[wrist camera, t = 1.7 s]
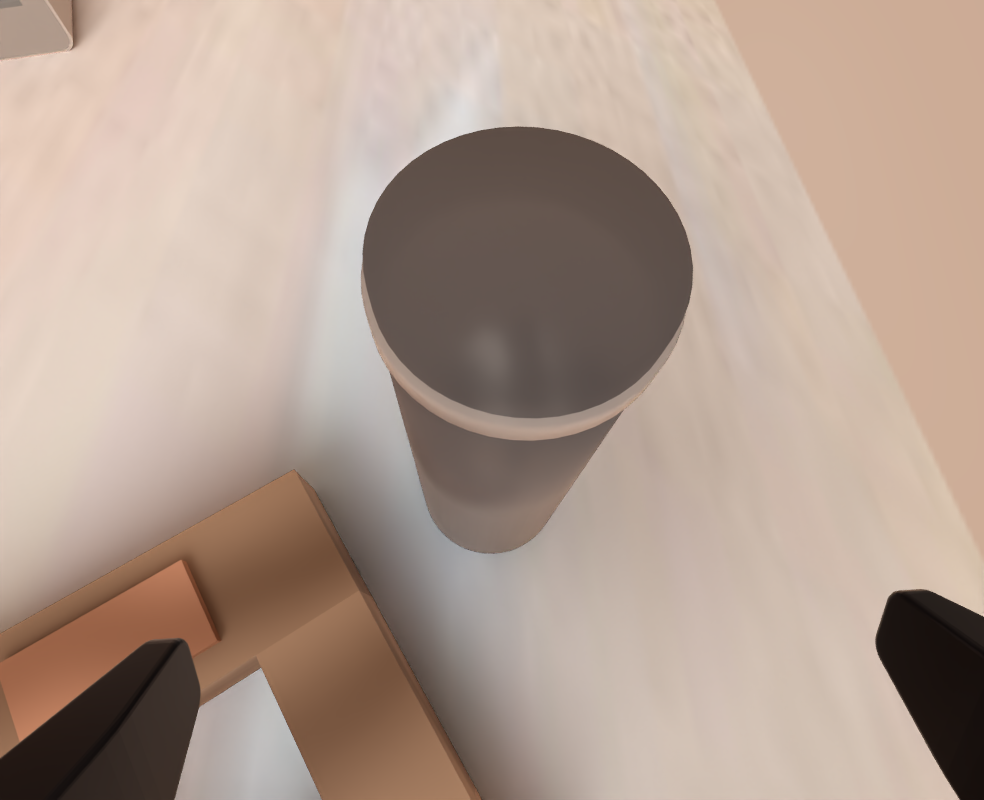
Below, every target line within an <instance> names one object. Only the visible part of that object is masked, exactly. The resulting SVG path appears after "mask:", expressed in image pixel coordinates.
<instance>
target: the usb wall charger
mask: <svg viewBox="0 0 984 800" xmlns="http://www.w3.org/2000/svg"><path fill="white" fill-rule="evenodd" d="M72 46H73V28H72V0H0V61H4V60H11V59H18V58H25V57H32V56H39V55H46V54H53V53H60V52H67V51H69V50H70V49H71V48H72Z"/></svg>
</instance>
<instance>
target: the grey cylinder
mask: <svg viewBox="0 0 984 800" xmlns="http://www.w3.org/2000/svg"><path fill="white" fill-rule="evenodd" d="M692 276H693V265H692V257H691V249H690V245H689V242H688V238H687V235H686V231H685V229H684V227H683V225H682V222H681V220H680V218H679V216H678V214H677V212H676V211H675V209H674V207H673V206H672V204H671V202H670V201H669V199H668V198H667V197H666V195H665V194H664V193H663V192H662V191H661V189H660V188H659V187H658V186H657V184H656V183H655V182H654V181H652V180H651V179H650V178H649V177H648V176H647V175H646V174H645V173H644V172H643V171H642V170H641V169H639V168H638V167H637V166H635V165H634V164H633V163H632V162H630V161H629V160H627V159H626V158H624V157H623V156H621V155H619V154H618V153H616V152H614V151H613V150H611V149H609V148H607V147H605V146H603V145H600V144H598V143H596V142H594V141H591V140H588V139H586V138H583V137H580V136H577V135H574V134H570V133H566V132H562V131H558V130H551V129H544V128H536V127H502V128H494V129H487V130H481V131H477V132H473V133H469V134H465V135H461V136H459V137H456V138H454V139H451V140H448V141H446V142H443V143H441V144H440V145H438V146H436V147H434V148H432V149H430V150H428V151H426V152H425V153H423V154H422V155H420V156H419V157H418V158H416V159H415V160H413V161H412V162H411V163H410V164H408V165H407V166H406V167H405V168H404V169H403V170H402V171H400V172H399V173H398V174H397V176H396V177H395V178H394V179H393V180H392V181H391V182H390V184H389V185H388V186H387V187H386V189H385V190H384V192H383V193H382V195H381V196H380V198H379V199H378V201H377V203H376V205H375V207H374V209H373V212H372V214H371V216H370V218H369V222H368V225H367V229H366V232H365V237H364V245H363V262H362V271H361V289H362V298H363V303H364V308H365V313H366V316H367V320H368V323H369V326H370V329H371V333H372V336H373V338H374V341H375V344H376V347H377V350H378V352H379V354H380V356H381V358H382V359H383V361H384V363H385V365H386V367H387V368H388V370H389V371H390V375H391V378H392V382H393V386H394V389H395V393H396V396H397V400H398V404H399V407H400V411H401V414H402V418H403V422H404V425H405V429H406V432H407V436H408V439H409V443H410V447H411V450H412V454H413V457H414V461H415V465H416V468H417V472H418V475H419V479H420V483H421V486H422V490H423V493H424V497H425V500H426V504H427V507H428V510H429V513H430V515H431V517H432V519H433V521H434V523H435V524H436V525H437V527H438V528H439V530H440V531H441V532H442V533H443V534H444V535H445V536H446V537H447V538H449V539H450V540H451V541H453V542H454V543H456V544H457V545H459V546H461V547H463V548H465V549H468V550H471V551H474V552H480V553H492V554H494V553H503V552H507V551H511V550H513V549H516V548H518V547H520V546H522V545H524V544H526V543H527V542H529V541H530V540H531V539H533V538H534V537H535V536H536V535H537V534H538V533H539V532H540V531H541V529H542V528H543V527H544V526H545V524H546V523H547V521H548V520H549V518H550V517H551V515H552V514H553V512H554V511H555V510H556V508H557V507H558V505H559V504H560V502H561V501H562V499H563V498H564V496H565V495H566V493H567V492H568V491H569V489H570V488H571V486H572V485H573V483H574V482H575V480H576V479H577V477H578V476H579V474H580V473H581V472H582V470H583V469H584V467H585V466H586V464H587V463H588V461H589V460H590V458H591V457H592V455H593V454H594V453H595V451H596V450H597V448H598V447H599V445H600V444H601V442H602V441H603V439H604V438H605V436H606V435H607V433H608V432H609V431H610V429H611V428H612V426H613V425H614V423H615V422H616V420H617V419H618V417H619V416H620V414H621V413H622V412H623V410H624V409H625V408H627V407H628V406H629V405H630V404H631V403H632V402H633V401H634V400H636V399H637V398H638V397H639V396H640V395H641V394H642V393H643V392H644V390H645V389H646V388H647V386H648V385H649V384H650V383H651V381H652V380H653V379H654V377H655V376H656V375H657V373H658V372H659V370H660V369H661V368H662V366H663V365H664V363H665V362H666V361H667V359H668V357H669V356H670V354H671V352H672V350H673V348H674V346H675V345H676V343H677V340H678V338H679V335H680V332H681V329H682V326H683V323H684V318H685V313H686V309H687V307H688V304H689V300H690V294H691V289H692Z"/></svg>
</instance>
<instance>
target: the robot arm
mask: <svg viewBox="0 0 984 800" xmlns="http://www.w3.org/2000/svg"><path fill="white" fill-rule="evenodd" d="M875 644H876V649H877V652H878V655H879V658H880V660H881V662H882V664H883V665H884V667H885V669H886V671H887V673H888V674H889V676H890V678H891V680H892V682H893V684H894V685H895V687H896V689H897V691H898V693H899V695H900V696H901V698H902V700H903V702H904V704H905V706H906V707H907V709H908V711H909V713H910V715H911V716H912V718H913V720H914V722H915V724H916V726H917V727H918V729H919V731H920V733H921V735H922V737H923V738H924V740H925V742H926V744H927V746H928V748H929V749H930V751H931V753H932V755H933V757H934V758H935V760H936V762H937V764H938V765H939V767H940V769H941V770H942V772H943V774H944V776H945V777H946V779H947V780H948V782H949V784H950V785H951V787H952V788H953V790H954V791H955V793H956V795H957V796H958V798H959V799H960V800H984V617H983V616H981V615H979V614H977V613H975V612H973V611H971V610H969V609H967V608H965V607H963V606H960V605H958V604H956V603H954V602H952V601H950V600H948V599H946V598H944V597H942V596H940V595H938V594H936V593H934V592H931V591H928V590H923V589H916V590H900V591H895V592H893V593H892V594H891V595H890V596H889V598H888V600H887V603H886V606H885V609H884V612H883V615H882V618H881V621H880V624H879V628H878V631H877V634H876V639H875ZM200 697H201V690H200V683H199V680H198V676H197V673H196V669H195V666H194V662H193V659H192V655H191V652H190V648H189V646H188V643H187V642H186V641H185V640H184V639H182V638H167V639H153V640H149V641H147V642H145V643H144V644H142V645H141V646H139V647H138V648H137V649H136V650H134V651H133V652H132V653H131V654H129V655H128V656H127V657H126V658H124V659H123V660H122V661H121V662H119V663H118V664H117V665H116V666H114V667H113V668H112V669H111V670H109V671H108V672H107V673H106V674H104V675H103V676H102V677H101V678H99V679H98V680H97V681H96V682H94V683H93V684H92V685H91V686H89V687H88V688H87V689H86V690H84V691H83V692H82V693H81V694H79V695H78V696H77V697H76V698H74V699H73V700H72V701H71V702H69V703H68V704H67V705H66V706H64V707H63V708H62V709H61V710H59V711H58V712H57V713H56V714H54V715H53V716H52V717H51V718H49V719H48V720H47V721H46V722H44V723H43V724H42V725H41V726H39V727H38V728H37V729H36V730H34V731H33V732H32V733H31V734H29V735H28V736H27V737H26V738H24V739H23V740H22V741H21V742H19V743H18V744H17V745H16V746H14V747H13V748H12V749H11V750H9V751H8V752H7V753H6V754H4V755H3V756H2V757H1V758H0V800H174V799H175V795H176V791H177V788H178V784H179V780H180V777H181V773H182V769H183V765H184V762H185V758H186V754H187V750H188V747H189V743H190V739H191V735H192V732H193V728H194V724H195V720H196V717H197V713H198V709H199V705H200Z"/></svg>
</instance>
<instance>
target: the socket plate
mask: <svg viewBox="0 0 984 800" xmlns="http://www.w3.org/2000/svg"><path fill="white" fill-rule="evenodd" d="M167 638H182V639H184V640H185V641H186V642H187V643H188V646H189V648H190V652H191V655H192V659H193V662H194V666H195V669H196V673H197V676H198V680H199V683H200V690H201V697H200V705H199V707H200V706H201V705H203V704H205V703H206V702H208V701H209V700H211V699H212V698H214V697H216V696H217V695H219V694H220V693H222V692H223V691H225V690H227V689H228V688H230V687H231V686H233V685H234V684H236V683H238V682H239V681H241V680H242V679H244V678H246V677H247V676H249V675H250V674H252V673H253V672H255V671H257V670H258V669H260V668H262V670H263V672H264V674H265V677H266V679H267V681H268V683H269V685H270V687H271V690H272V692H273V694H274V696H275V698H276V700H277V703H278V705H279V707H280V709H281V711H282V714H283V716H284V718H285V720H286V722H287V724H288V727H289V729H290V731H291V733H292V735H293V737H294V740H295V742H296V744H297V746H298V748H299V750H300V753H301V755H302V757H303V759H304V761H305V763H306V766H307V768H308V770H309V772H310V774H311V777H312V779H313V781H314V783H315V785H316V787H317V790H318V792H319V794H320V796H321V798H322V800H482V799H481V797H480V795H479V793H478V792H477V790H476V788H475V786H474V784H473V782H472V780H471V779H470V777H469V775H468V773H467V771H466V769H465V768H464V766H463V764H462V762H461V760H460V758H459V756H458V755H457V753H456V751H455V749H454V747H453V745H452V743H451V742H450V740H449V738H448V736H447V734H446V732H445V731H444V729H443V727H442V725H441V723H440V721H439V719H438V718H437V716H436V714H435V712H434V710H433V708H432V707H431V705H430V703H429V701H428V699H427V697H426V695H425V694H424V692H423V690H422V688H421V686H420V684H419V682H418V681H417V679H416V677H415V675H414V673H413V671H412V670H411V668H410V666H409V664H408V662H407V660H406V658H405V657H404V655H403V653H402V651H401V649H400V647H399V645H398V644H397V642H396V640H395V638H394V636H393V634H392V633H391V631H390V629H389V627H388V625H387V623H386V621H385V620H384V618H383V616H382V614H381V612H380V610H379V609H378V607H377V605H376V603H375V601H374V599H373V597H372V596H371V594H370V592H369V590H368V588H367V586H366V584H365V583H364V581H363V579H362V577H361V575H360V573H359V572H358V570H357V568H356V566H355V564H354V562H353V560H352V559H351V557H350V555H349V553H348V551H347V549H346V548H345V546H344V544H343V542H342V540H341V538H340V536H339V535H338V533H337V531H336V529H335V527H334V525H333V523H332V522H331V520H330V518H329V516H328V514H327V512H326V511H325V509H324V507H323V505H322V503H321V501H320V499H319V498H318V496H317V494H316V492H315V490H314V489H313V488H312V487H311V486H310V485H309V484H308V483H307V482H306V481H305V480H304V479H303V478H302V477H301V476H300V475H299V474H298V473H297V472H296V471H295V470H292V471H290V472H289V473H287V474H285V475H283V476H281V477H280V478H278V479H276V480H274V481H272V482H271V483H269V484H267V485H265V486H263V487H262V488H260V489H258V490H256V491H255V492H253V493H251V494H249V495H247V496H246V497H244V498H242V499H240V500H238V501H237V502H235V503H233V504H231V505H229V506H228V507H226V508H224V509H222V510H221V511H219V512H217V513H215V514H213V515H212V516H210V517H208V518H206V519H204V520H203V521H201V522H199V523H197V524H195V525H194V526H192V527H190V528H188V529H187V530H185V531H183V532H181V533H179V534H178V535H176V536H174V537H172V538H170V539H169V540H167V541H165V542H163V543H161V544H160V545H158V546H156V547H154V548H152V549H151V550H149V551H147V552H145V553H144V554H142V555H140V556H138V557H136V558H135V559H133V560H131V561H129V562H127V563H126V564H124V565H122V566H120V567H118V568H117V569H115V570H113V571H111V572H110V573H108V574H106V575H104V576H102V577H101V578H99V579H97V580H95V581H93V582H92V583H90V584H88V585H86V586H84V587H83V588H81V589H79V590H77V591H76V592H74V593H72V594H70V595H68V596H67V597H65V598H63V599H61V600H59V601H58V602H56V603H54V604H52V605H50V606H49V607H47V608H45V609H43V610H42V611H40V612H38V613H36V614H34V615H33V616H31V617H29V618H27V619H25V620H24V621H22V622H20V623H18V624H16V625H15V626H13V627H11V628H9V629H8V630H6V631H4V632H2V633H0V758H1V757H2V756H3V755H4V754H6V753H7V752H8V751H9V750H11V749H12V748H13V747H14V746H16V745H17V744H18V743H19V742H21V741H22V740H23V739H24V738H26V737H27V736H28V735H29V734H31V733H32V732H33V731H34V730H36V729H37V728H38V727H39V726H41V725H42V724H43V723H44V722H46V721H47V720H48V719H49V718H51V717H52V716H53V715H54V714H56V713H57V712H58V711H59V710H61V709H62V708H63V707H64V706H66V705H67V704H68V703H69V702H71V701H72V700H73V699H74V698H76V697H77V696H78V695H79V694H81V693H82V692H83V691H84V690H86V689H87V688H88V687H89V686H91V685H92V684H93V683H94V682H96V681H97V680H98V679H99V678H101V677H102V676H103V675H104V674H106V673H107V672H108V671H109V670H111V669H112V668H113V667H114V666H116V665H117V664H118V663H119V662H121V661H122V660H123V659H124V658H126V657H127V656H128V655H129V654H131V653H132V652H133V651H134V650H136V649H137V648H138V647H139V646H141V645H142V644H144V643H145V642H147V641H149V640H153V639H167Z"/></svg>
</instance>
